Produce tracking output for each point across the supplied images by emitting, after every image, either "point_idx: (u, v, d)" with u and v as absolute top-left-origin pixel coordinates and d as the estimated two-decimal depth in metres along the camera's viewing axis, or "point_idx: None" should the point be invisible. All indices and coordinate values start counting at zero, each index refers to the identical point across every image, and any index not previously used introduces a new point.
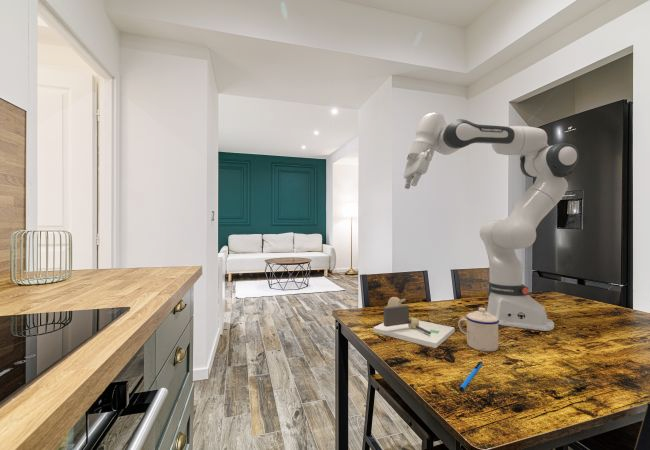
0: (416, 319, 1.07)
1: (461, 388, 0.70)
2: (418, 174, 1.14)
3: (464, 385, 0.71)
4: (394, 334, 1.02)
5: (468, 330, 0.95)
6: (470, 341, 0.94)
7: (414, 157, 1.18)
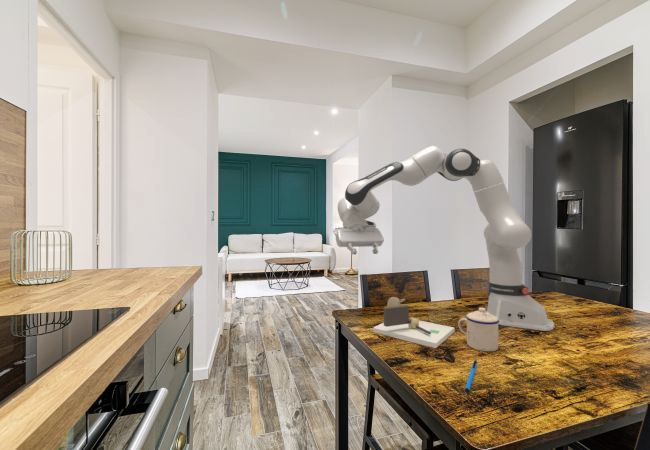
0: (416, 319, 1.07)
1: (467, 390, 0.69)
2: (347, 245, 1.21)
3: (469, 386, 0.71)
4: (394, 334, 1.02)
5: (468, 330, 0.95)
6: (470, 341, 0.94)
7: None
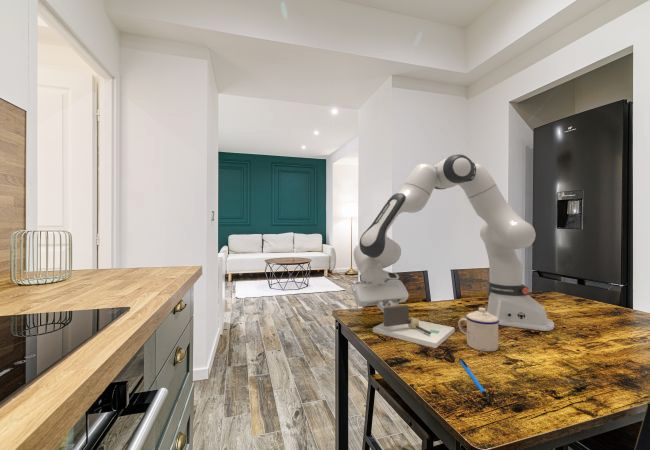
0: (416, 319, 1.07)
1: (485, 392, 0.68)
2: (378, 304, 1.07)
3: None
4: (394, 334, 1.02)
5: (468, 330, 0.95)
6: (470, 341, 0.94)
7: None
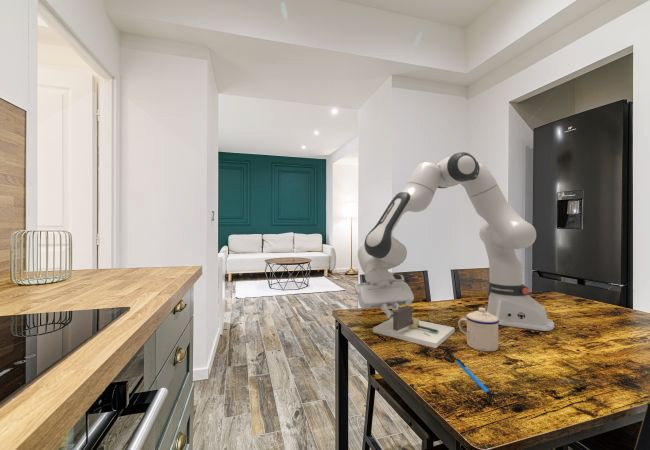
0: (416, 319, 1.07)
1: (490, 393, 0.68)
2: (381, 306, 1.04)
3: (486, 388, 0.70)
4: (394, 334, 1.02)
5: (468, 330, 0.95)
6: (470, 341, 0.94)
7: None
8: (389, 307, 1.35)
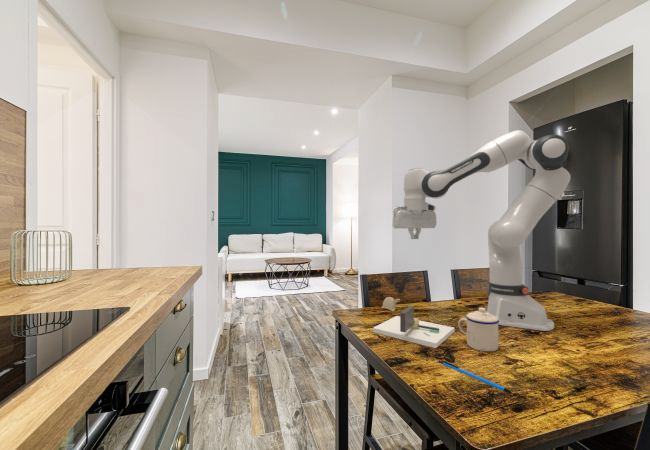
0: (416, 318, 1.07)
1: (507, 389, 0.69)
2: (409, 229, 1.31)
3: None
4: (394, 334, 1.02)
5: (468, 330, 0.95)
6: (470, 341, 0.94)
7: None
8: (386, 307, 1.35)
